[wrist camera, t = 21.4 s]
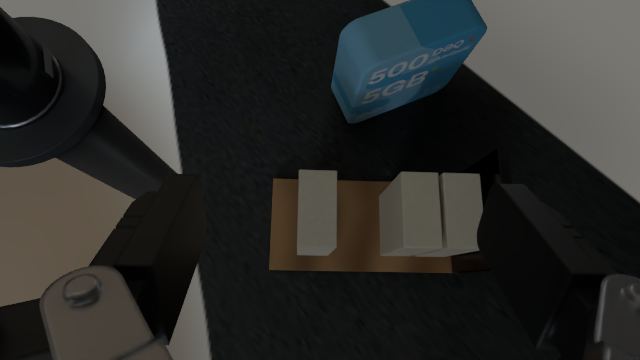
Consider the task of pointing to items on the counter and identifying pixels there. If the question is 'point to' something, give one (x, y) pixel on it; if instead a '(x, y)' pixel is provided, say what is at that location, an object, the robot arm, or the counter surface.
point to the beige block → (317, 212)
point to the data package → (402, 54)
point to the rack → (396, 222)
